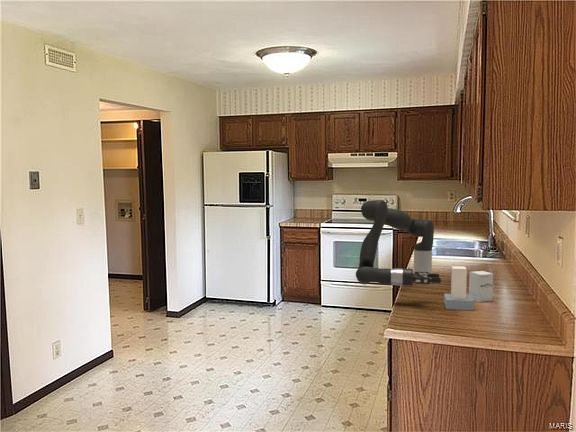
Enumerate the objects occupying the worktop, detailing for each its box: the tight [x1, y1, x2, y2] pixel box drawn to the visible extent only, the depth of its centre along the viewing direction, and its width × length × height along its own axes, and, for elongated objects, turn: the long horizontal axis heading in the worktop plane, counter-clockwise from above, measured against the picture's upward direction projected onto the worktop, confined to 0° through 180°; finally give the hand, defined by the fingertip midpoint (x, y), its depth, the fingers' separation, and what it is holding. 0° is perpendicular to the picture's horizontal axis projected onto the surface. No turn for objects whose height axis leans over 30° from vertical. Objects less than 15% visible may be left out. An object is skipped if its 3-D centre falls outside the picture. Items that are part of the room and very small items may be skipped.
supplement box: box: [468, 270, 494, 303], centre depth 219 cm, size 7×7×13 cm
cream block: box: [450, 265, 468, 299], centre depth 209 cm, size 6×6×13 cm
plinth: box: [443, 293, 475, 311], centre depth 210 cm, size 11×11×4 cm
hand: (439, 278), depth 211 cm, fingers open, 8 cm apart
